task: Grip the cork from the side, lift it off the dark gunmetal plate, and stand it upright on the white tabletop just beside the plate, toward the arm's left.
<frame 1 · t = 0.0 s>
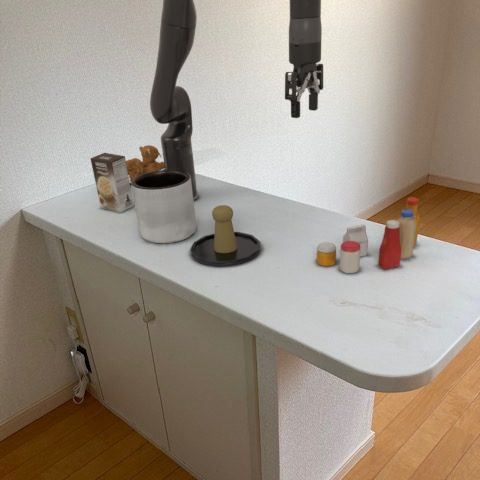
hand: (304, 113, 128), 29 cm above the table, tool pointing down, fingers open, 8 cm apart
metal plate: (225, 250, 133), on the table
toy food: (372, 259, 125), on the table
planter: (169, 233, 145), on the table
cork: (225, 248, 133), point 1 cm above the table, touching metal plate
stuffed squirrel: (148, 186, 181), on the table
coffee box: (117, 207, 165), on the table
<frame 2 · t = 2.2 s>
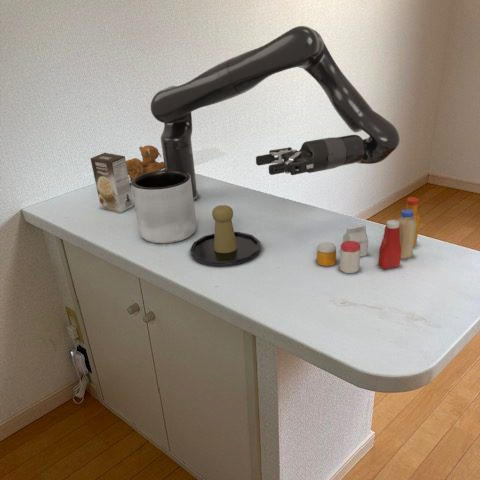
hand: (262, 165, 125), 20 cm above the table, tool horizontal, fingers open, 8 cm apart
nothing on the table moved.
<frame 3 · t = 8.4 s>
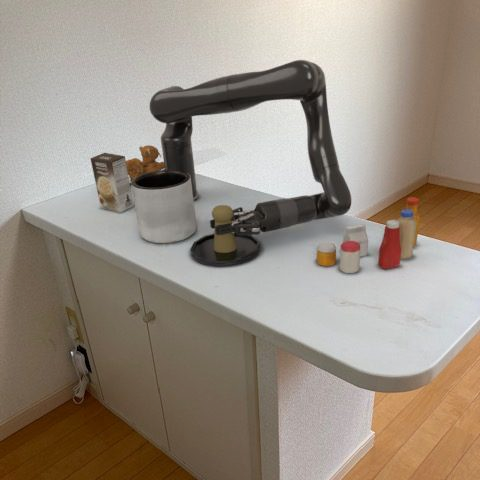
hand: (213, 227, 128), 7 cm above the table, tool horizontal, fingers closed on cork, 3 cm apart
cork: (225, 248, 133), point 1 cm above the table, touching gripper, metal plate
everything else where it was.
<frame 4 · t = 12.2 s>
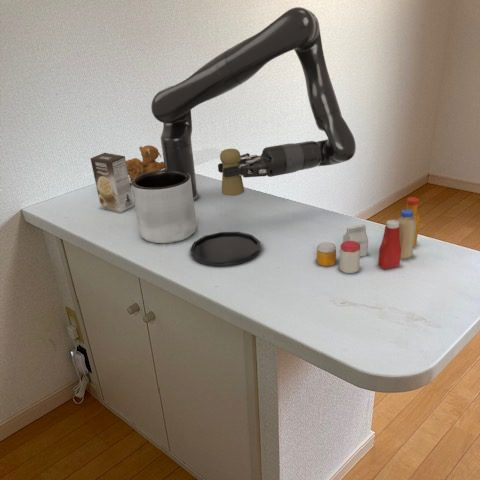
hand: (221, 170, 132), 18 cm above the table, tool horizontal, fingers closed on cork, 3 cm apart
cork: (233, 192, 137), point 11 cm above the table, touching gripper
everything else where it was.
when the fingers open (6 cm above the table, at t = 16.0 s): cork stays where it is, on the table.
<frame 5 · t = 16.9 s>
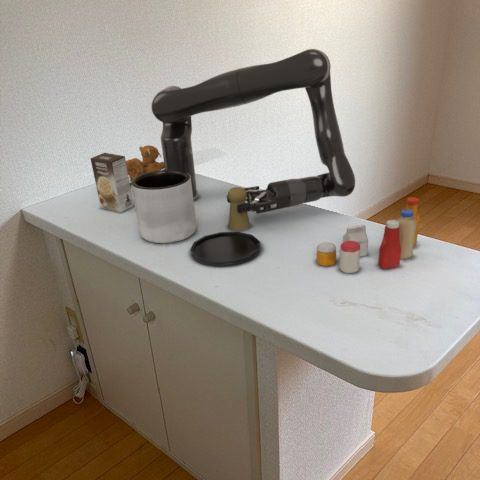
hand: (232, 203, 141), 7 cm above the table, tool horizontal, fingers open, 8 cm apart
cork: (239, 227, 146), on the table
everything else where it was.
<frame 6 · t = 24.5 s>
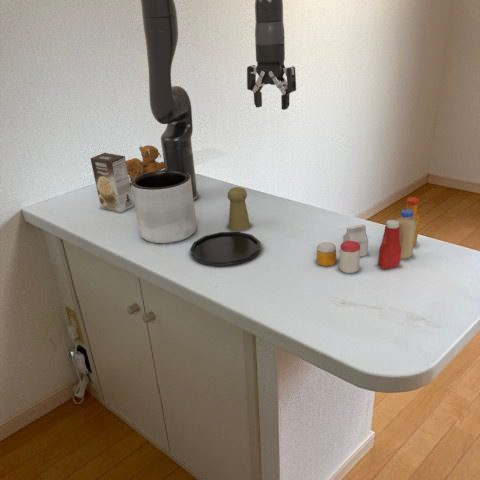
hand: (271, 108, 142), 28 cm above the table, tool pointing down, fingers open, 8 cm apart
nothing on the table moved.
at the end: cork inside the target area (0.3 cm from its centre), on the table; cork touching table; cork tilted 0° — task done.
